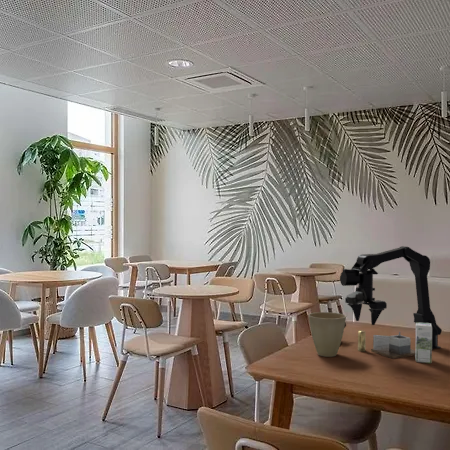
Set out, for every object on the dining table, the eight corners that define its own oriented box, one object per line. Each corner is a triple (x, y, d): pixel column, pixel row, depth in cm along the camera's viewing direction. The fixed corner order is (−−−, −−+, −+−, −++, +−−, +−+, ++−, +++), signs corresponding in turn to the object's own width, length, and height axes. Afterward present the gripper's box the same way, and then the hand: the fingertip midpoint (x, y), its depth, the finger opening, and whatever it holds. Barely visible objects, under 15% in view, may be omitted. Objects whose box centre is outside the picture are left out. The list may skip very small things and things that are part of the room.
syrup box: (431, 359, 197) (431, 322, 197) (431, 364, 192) (432, 325, 192) (415, 358, 199) (415, 321, 199) (415, 362, 194) (416, 324, 194)
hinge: (398, 347, 216) (398, 331, 216) (420, 354, 205) (420, 337, 205) (371, 351, 210) (371, 334, 210) (392, 358, 199) (392, 340, 199)
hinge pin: (362, 349, 213) (362, 330, 213) (366, 351, 211) (367, 331, 210) (356, 350, 212) (356, 331, 212) (361, 351, 209) (361, 332, 209)
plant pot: (352, 354, 205) (352, 315, 205) (333, 361, 194) (333, 320, 194) (320, 347, 215) (321, 310, 215) (300, 354, 205) (301, 315, 204)
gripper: (335, 283, 214) (335, 320, 214) (366, 289, 197) (365, 329, 198) (355, 282, 219) (355, 318, 219) (387, 287, 202) (387, 326, 203)
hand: (365, 323), depth 210 cm, fingers open, 9 cm apart
